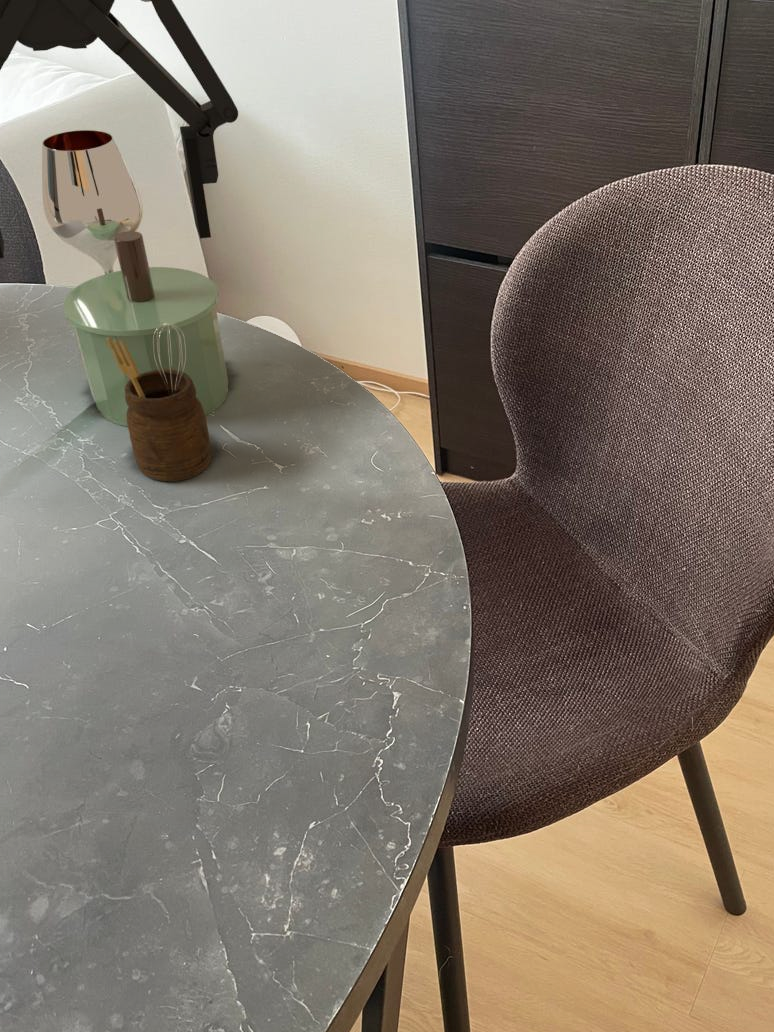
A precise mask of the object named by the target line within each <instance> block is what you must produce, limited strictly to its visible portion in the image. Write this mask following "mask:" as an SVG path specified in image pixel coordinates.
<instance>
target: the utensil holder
mask: <svg viewBox="0 0 774 1032" xmlns="http://www.w3.org/2000/svg"><path fill="white" fill-rule="evenodd" d="M163 325H165V326H166V325H167V337H168V328H169V325H170V326H172V325H174V324H168V323H167V324H162V325H160V326H163ZM160 326H159V327H158V328H157V329H158V330H159V328H160ZM165 326H164V327H165ZM174 326H175V325H174ZM164 327H163V328H164ZM172 327H173V326H172ZM175 327H177V326H175ZM163 328H162V329H163ZM173 328H174V327H173ZM177 328H178V327H177ZM177 328H176V329H177ZM157 329H156V330H157ZM162 329H161V331H162ZM174 329H175V328H174ZM176 329H175V330H176ZM179 329H180V328H179ZM176 331H177V333H178V336H179V337H180V335H179V332H178V329H177V330H176ZM155 332H156V331H155ZM155 332H154V334H155ZM181 332H182V331H181ZM160 333H161V332H160ZM157 334H158V331H157ZM182 334H183V332H182ZM183 336H184V334H183ZM169 337H170V331H169ZM159 338H160V335H159ZM107 341H108V344H109V346H110V348H111V350H112V352H113V355H114V357H115V359H116V361H117V363H118V366H119V368H120V370H121V371H122V373H124V374H125V375H127V376H128V377H129V378H130V379H131V380H130V381H129V382H128V383H127V384H126V386H125V400H126V403H127V405H128V406H129V407H128V409H127V414H126V420H127V426H128V427H127V430H128V431H127V432H128V435H129V439H130V444H131V447H132V451H133V455H134V458H135V461H136V464H137V467H138V468H139V471H140V472H141V473H142V474H143V475H144V476H146V477H147V478H149V479H152V480H155V481H160V482H180V481H185V480H188V479H191V478H193V477H196V476H198V475H199V474H201V473H203V472H204V471H205V470H206V469H207V468H208V467H209V465H210V464H211V461H212V445H211V439H210V433H209V428H208V423H207V417H206V416H205V413H204V410H203V407H202V405H201V403H200V401H199V400H198V399H197V398H196V389H195V386H194V384H193V381H192V379H191V378H190V376H188V375H187V374H185V373H183V371H182V372H181V371H179V368H178V371H176V370H171V368H170V370H167V369H164V370H163V369H162V366H161V369H162V370H159V369H158V370H153V371H149V372H145V373H142V374H139V371H138V369H137V367H136V365H135V363H134V361H133V359H132V357H131V355H130V353H129V351H128V349H127V347H126V345H125V343H124V342H123V341H121V342H120V344H121V346H122V348H123V351H124V353H125V355H126V357H127V359H126V357H125V355H124V353H123V351H122V349H121V347H120V345H119V343H118V341H117V340H116V339H114V340H113V342H114V344H115V346H116V348H117V350H118V352H117V350H116V348H115V347H114V345H113V343H112V341H111V339H110V338H108V337H107ZM180 341H181V338H180V339H179V346H180ZM184 342H185V338H184ZM157 349H158V338H157ZM153 350H154V336H153ZM170 350H171V341H170ZM181 351H182V344H181ZM168 352H169V343H168ZM118 353H119V354H118ZM119 355H120V356H119ZM120 357H121V358H120ZM158 357H159V358H160V349H159V353H158ZM154 358H155V354H154ZM121 359H122V360H121ZM159 361H160V359H159ZM155 362H156V360H155ZM182 362H183V357H182ZM185 362H186V346H185ZM169 364H170V357H169ZM156 365H157V363H156ZM160 365H161V361H160ZM171 365H172V355H171ZM179 365H180V360H179ZM184 367H185V364H184ZM157 368H158V366H157ZM181 370H182V366H181ZM183 370H184V368H183Z"/></svg>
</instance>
